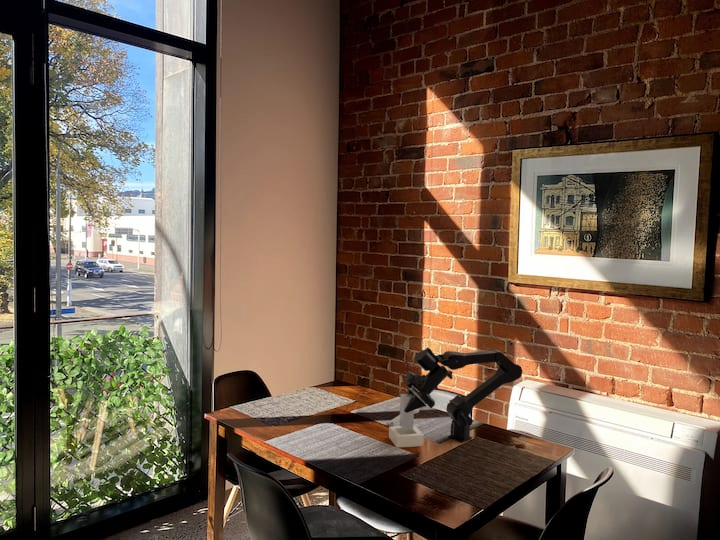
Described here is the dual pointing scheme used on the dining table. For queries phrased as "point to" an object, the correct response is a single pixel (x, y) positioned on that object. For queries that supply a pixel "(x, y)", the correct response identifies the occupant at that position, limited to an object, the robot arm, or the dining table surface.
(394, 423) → the adjustable wrench
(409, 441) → the socket block
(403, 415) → the steel peg
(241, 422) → the dining table surface
